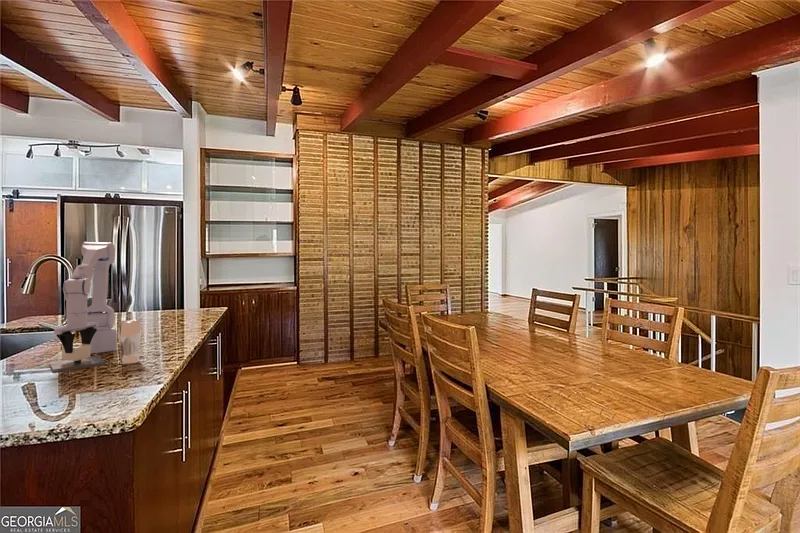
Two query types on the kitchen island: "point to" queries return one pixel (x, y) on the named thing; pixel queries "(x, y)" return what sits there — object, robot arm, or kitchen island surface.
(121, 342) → the beer glass
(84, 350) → the block
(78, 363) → the flat plate
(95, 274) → the robot arm
